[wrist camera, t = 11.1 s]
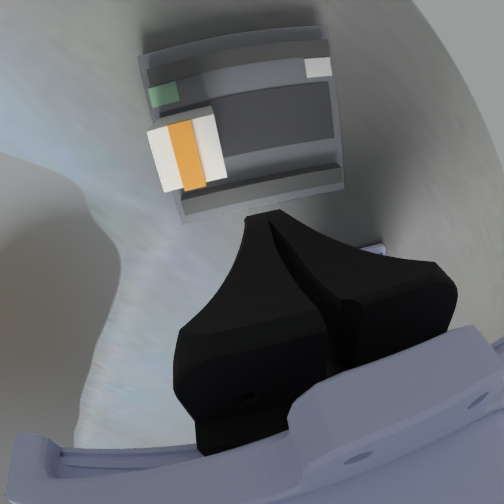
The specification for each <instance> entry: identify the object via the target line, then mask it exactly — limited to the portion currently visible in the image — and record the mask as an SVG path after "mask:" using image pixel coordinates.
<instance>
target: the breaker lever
mask: <svg viewBox="0 0 504 504" xmlns="http://www.w3.org/2000/svg"><path fill="white" fill-rule="evenodd" d="M147 135H148V139H149V143H150V146H151V150H152V153H153V157H154V160H155V164H156V167H157V171H158V174H159V177H160V181H161V184H162V187H163V191H164V193H165V192H169V191H173V190H177V189H181V188H184V191H189V190H193V189H197V188H201V187H205V186H206V182H209V181H214V180H218V179H222V178H227V173H226V168H225V164H224V159H223V154H222V150H221V145H220V141H219V136H218V131H217V127H216V122H215V117H214V113H213V110H212V107H211V105H210V106H206V107H202V108H197V109H193V110H189V111H185V112H181V113H177V114H174V115H170V116H166V117H163V118H159V119H158V120H157V121H156V122H155V123H154V124H153V125H152V127H151V128H150V129H149V130H148V131H147Z"/></svg>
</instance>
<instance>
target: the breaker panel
mask: <svg viewBox="0 0 504 504" xmlns="http://www.w3.org/2000/svg"><path fill="white" fill-rule="evenodd" d="M137 58H138V63H139V67H140V72H141V76H142V80H143V84H144V88H145V93H146V97H147V101H148V105H149V109H150V113H151V117H152V120H153V124H154V123H155V122H156V121H157V120H158V119H159V118H163V117H166V116H170V115H174V114H177V113H181V112H185V111H189V110H193V109H197V108H202V107H206V106H210V105H211V107H212V110H213V113H214V117H215V122H216V127H217V131H218V136H219V141H220V145H221V150H222V154H223V159H224V164H225V168H226V173H227V178H222V179H218V180H214V181H209V182H206V186H205V187H201V188H197V189H193V190H189V191H184V188H181V189H177V190H173V191H172V192H173V196H174V199H175V202H176V206H177V209H178V212H179V215H180V219H181V222H182V224H186V223H190V222H194V221H199V220H203V219H207V218H211V217H215V216H220V215H224V214H228V213H233V212H237V211H242V210H246V209H251V208H255V207H260V206H264V205H269V204H274V203H278V202H283V201H288V200H293V199H297V198H302V197H307V196H312V195H317V194H322V193H327V192H333V191H338V190H343V189H344V172H343V156H342V142H341V130H340V119H339V109H338V100H337V91H336V83H335V75H334V68H333V61H332V54H331V47H330V41H329V35H328V29H327V25H324V26H299V27H285V28H274V29H264V30H256V31H248V32H241V33H235V34H229V35H223V36H217V37H212V38H207V39H202V40H198V41H193V42H189V43H185V44H180V45H176V46H172V47H169V48H165V49H161V50H158V51H154V52H151V53H148V54H144V55H141V56H138V57H137Z"/></svg>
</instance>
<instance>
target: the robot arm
mask: <svg viewBox="0 0 504 504" xmlns="http://www.w3.org/2000/svg"><path fill="white" fill-rule="evenodd" d="M244 222H245V228H244V234H243V238H242V242H241V245H240V248H239V251H238V254H237V257H236V259H235V262H234V264H233V266H232V268H231V270H230V272H229V274H228V276H227V277H226V279H225V281H224V282H223V284H222V285H221V287H220V288H219V290H218V291H217V293H216V294H215V295H214V297H213V298H212V299H211V300H210V301H209V303H208V304H207V305H206V306H205V307H204V308H203V309H202V310H201V311H200V312H199V313H198V314H197V315H196V316H195V317H194V318H193V319H191V320H190V321H189V322H188V323H187V324H186V325H185V326H184V327H182V328H181V329H180V331H179V335H178V339H177V343H176V348H175V354H174V361H173V390H174V392H175V395H176V397H177V399H178V400H179V401H180V403H181V404H182V405H183V407H184V408H185V409H186V411H187V412H188V413H189V415H190V416H191V417H192V418H193V420H194V421H195V430H196V444H187V445H178V446H167V447H153V448H133V449H84V448H65V447H60V446H59V445H58V444H57V443H56V442H54V441H53V440H52V439H50V438H48V437H46V436H43V435H39V434H29V433H16V437H15V442H14V447H13V452H12V457H11V463H10V469H9V476H8V484H7V491H6V499H7V500H8V501H9V502H11V503H14V504H504V337H502V338H501V339H499V340H497V341H496V342H494V343H492V344H491V345H490V344H489V342H488V341H487V340H486V338H485V337H484V336H483V335H482V333H481V332H480V331H479V330H478V329H477V328H476V327H475V326H474V325H470V326H464V327H460V328H456V329H452V330H450V331H448V330H447V329H448V326H449V324H450V321H451V319H452V316H453V313H454V310H455V307H456V303H457V298H458V293H457V287H456V285H455V284H454V282H453V281H452V280H451V279H450V277H449V276H448V275H447V274H446V273H445V272H444V271H443V270H442V269H441V268H440V267H439V266H438V265H437V264H436V263H435V262H429V261H418V260H408V259H401V258H395V257H390V256H385V251H386V247H385V246H384V245H383V244H382V243H381V244H376V245H372V246H368V247H364V248H360V249H358V248H355V247H352V246H349V245H347V244H344V243H341V242H339V241H336V240H334V239H332V238H329V237H327V236H325V235H323V234H321V233H319V232H317V231H315V230H313V229H311V228H310V227H308V226H306V225H304V224H303V223H301V222H299V221H298V220H296V219H295V218H293V217H291V216H290V215H288V214H287V213H285V212H283V211H282V210H280V209H278V210H273V211H269V212H264V213H260V214H255V215H251V216H247V217H246V218H245V219H244ZM379 253H381V254H379Z"/></svg>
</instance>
